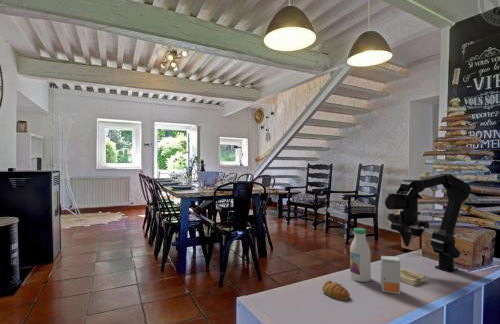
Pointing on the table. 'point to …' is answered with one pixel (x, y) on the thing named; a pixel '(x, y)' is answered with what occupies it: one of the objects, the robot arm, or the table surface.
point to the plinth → (411, 277)
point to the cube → (411, 243)
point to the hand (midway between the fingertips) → (410, 245)
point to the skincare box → (390, 274)
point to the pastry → (335, 290)
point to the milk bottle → (360, 257)
